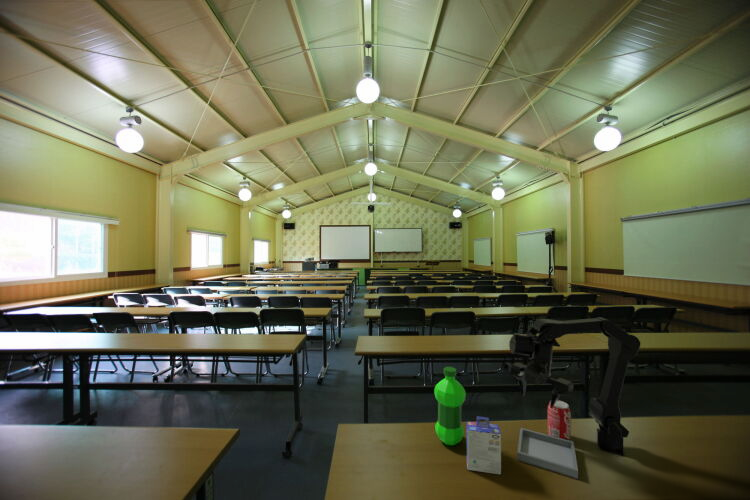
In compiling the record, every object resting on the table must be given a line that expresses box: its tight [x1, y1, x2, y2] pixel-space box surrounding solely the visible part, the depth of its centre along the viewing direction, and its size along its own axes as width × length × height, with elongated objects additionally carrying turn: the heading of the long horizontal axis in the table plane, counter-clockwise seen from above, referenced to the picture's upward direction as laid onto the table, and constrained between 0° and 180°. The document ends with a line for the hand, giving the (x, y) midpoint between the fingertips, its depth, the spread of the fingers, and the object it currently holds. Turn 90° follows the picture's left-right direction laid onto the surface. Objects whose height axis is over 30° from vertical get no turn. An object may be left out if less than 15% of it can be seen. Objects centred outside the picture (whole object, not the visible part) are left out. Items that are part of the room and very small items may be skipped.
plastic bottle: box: [433, 366, 467, 446], centre depth 105 cm, size 10×10×25 cm
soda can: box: [546, 399, 572, 441], centre depth 107 cm, size 7×7×12 cm
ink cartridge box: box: [466, 415, 502, 475], centre depth 93 cm, size 10×6×14 cm, turn 78°
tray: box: [516, 427, 579, 480], centre depth 98 cm, size 16×15×2 cm
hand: (536, 401), depth 104 cm, fingers open, 9 cm apart
